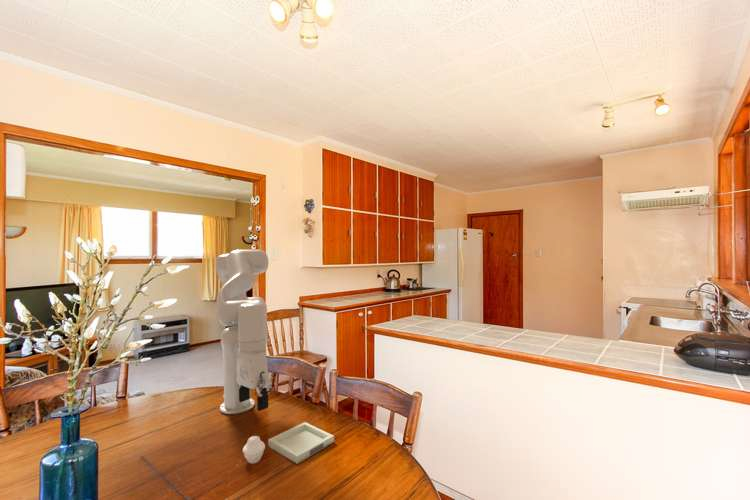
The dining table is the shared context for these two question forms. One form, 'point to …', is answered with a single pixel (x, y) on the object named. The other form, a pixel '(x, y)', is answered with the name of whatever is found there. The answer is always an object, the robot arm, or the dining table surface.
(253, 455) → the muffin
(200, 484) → the dining table surface
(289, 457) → the tray
